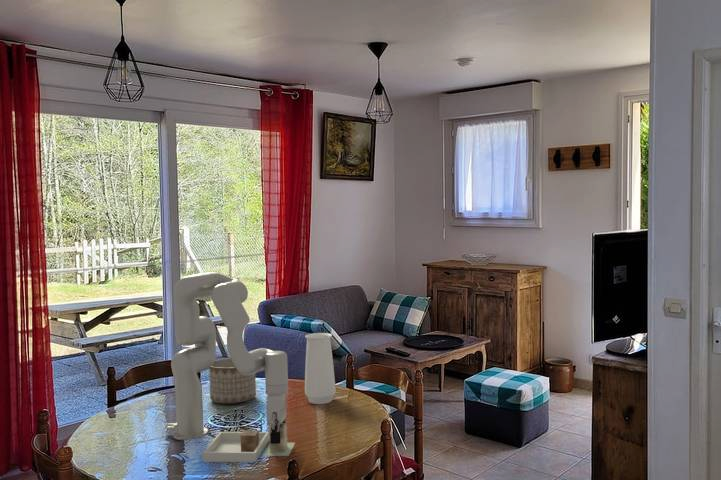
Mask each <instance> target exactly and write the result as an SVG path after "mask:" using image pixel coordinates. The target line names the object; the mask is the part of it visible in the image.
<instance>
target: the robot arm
mask: <svg viewBox="0 0 721 480" xmlns="http://www.w3.org/2000/svg"><path fill="white" fill-rule="evenodd" d="M248 296H249V291H248V288H247V286H246V285H245V283H243V282H242V281H241V280H238V279H237V278H234V277H230V276H228V275H226V274H224V273H220V272H217V271H209V272H202V273H194V274H190V275H186V276H183V277H182V278H180V279H179V280H178V281H177V282H176V283H175V285H174V288H173V299H174V300H173V301H174V307H175V308H174V309H175V314H174V315H175V316H174V323H175V324H174V325H175V326H174V327H175V329H174V331H175V336H174V337H175V341H176V343H177V344H178V345H180V346H183V347H187V346H188V348H185V349H182V350H180V351H177V352H176V353H175V354H174V355H173V356H172V358H171V362H170V366H171V367H170V368H171V372H172V375H173V382H174V392H175V393H174V394H175V396H174V397H175V398H174V399H175V418H176V422H174V423H172V422H169V423H168V422H167V423H166V425H165V428H166V430H167V431H173V432H172V438H173V439H175V440H178V441H182V440H185V441H186V440H193V439H199V438H202V437H204V436H206V435H207V434H208V433H209V430H208V428H207V427H205V426H204V407H203V405H204V404H203V403H204V402H203V387H202V386H203V385H202V381H201V380H200V377H199V375H198V373H201V372H204V371H206V370H209V368H210V367H212V366H213V364H214V362H215V360H216V357H217V356H216V355H217V330H216V326H215V323H214V321H213V320H212V319H211V318H210V317H208V316H206V315H200V311H201V310H200V305H199V303H198V300H197V299H199V298H204V297H210V298H211V301H212V303H213V306H215V309H216V310H217V312H218V314H219V316H220V318H221V320H222V322H223V324H224V326H225V329H226V331H227V333H226V346H227V353H228V356H229V358H231V360H232V362H233V364H234V365H235V367H236V369H237V370H238V371H239V372H240V373H241V374H243V375H247V376H248V375H252V374H255V375H256V374H257V373H259V372H263V371H264V375H265V378H264V379H265V394H266V395H267V403H266V404H267V406H266V407H267V408H266V413H267V414H266V416H267V417H266V421H267V422H266V424H267V425H270V426H271V427H270V426H269V428H270V439H271V444H280V431H279V427H280V424H281V423H287V421H286V417H287V394H288V393H289V376H288V374H289V372H288V354H287V353H286V352H285V351H282V350H272V349H269V348H266V347H261V348H257V349H252V350H250V351H248V349H247V346H246V345H245V342H244V331H245V328H246V327H247V325H248V324H249V323H250V316H249V314H248V312H247V311H246V309H245V306H244V305H243V303H245V302H246V300H247V299H248ZM193 345H194V346H193ZM189 346H190V347H189ZM191 346H192V347H191ZM275 425H277V426H275Z"/></svg>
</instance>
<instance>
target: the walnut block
mask: <svg viewBox="0 0 721 480" xmlns="http://www.w3.org/2000/svg"><path fill="white" fill-rule="evenodd" d="M242 432H243V433H242V434H241V435H240V436H241V452H254V451H255V449H256V448H257V446H258V445H259V432H260V431H259V430H258V429H257V430H255V429H254V430H249V429H248V430H243V431H242Z"/></svg>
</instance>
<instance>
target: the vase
mask: <svg viewBox="0 0 721 480" xmlns="http://www.w3.org/2000/svg"><path fill="white" fill-rule="evenodd" d="M332 336H333V334H331V333H329V332H313V333H307V334H305V336H304V338H306V349H305V350H306V351H305V367H304V368H305V370H304V396H306V397H307V399H308V402H309V403H310V404H314V405H323V404H328V403H332V401H333V397H334V395H335V394H336V378H335V369H334V359H333V358H334V357H333V351H332V341H331V338H332Z"/></svg>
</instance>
